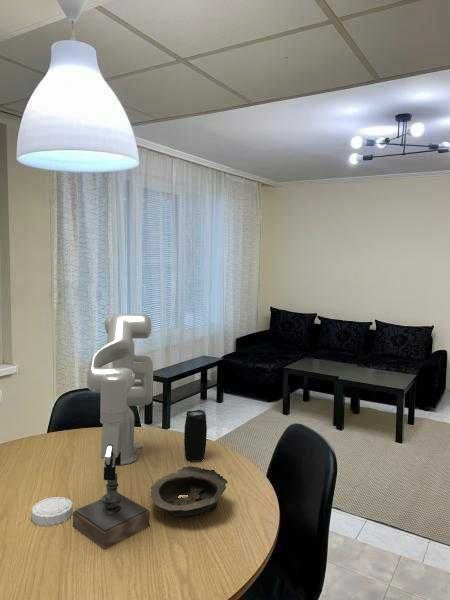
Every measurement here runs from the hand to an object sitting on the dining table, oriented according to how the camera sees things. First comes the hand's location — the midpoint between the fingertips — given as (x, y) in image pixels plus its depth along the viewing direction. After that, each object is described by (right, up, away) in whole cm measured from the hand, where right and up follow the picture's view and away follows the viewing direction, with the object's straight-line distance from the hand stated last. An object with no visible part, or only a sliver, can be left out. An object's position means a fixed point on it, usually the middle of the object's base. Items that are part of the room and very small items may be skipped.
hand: (112, 471), depth 133 cm
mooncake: (-20, -16, +5) cm, 26 cm away
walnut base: (0, -16, +1) cm, 16 cm away
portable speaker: (+21, -14, +50) cm, 57 cm away
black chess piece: (0, -12, +1) cm, 12 cm away
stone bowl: (+21, -17, +12) cm, 30 cm away
